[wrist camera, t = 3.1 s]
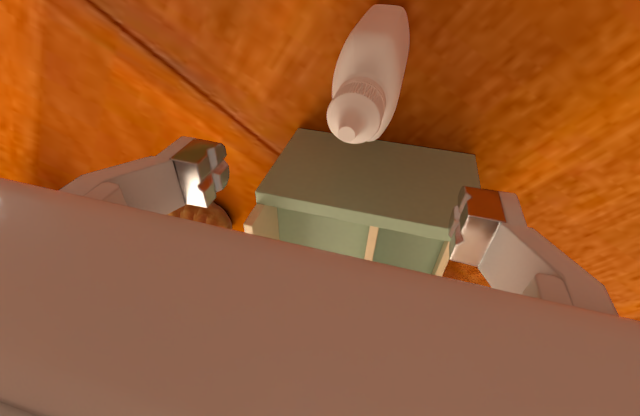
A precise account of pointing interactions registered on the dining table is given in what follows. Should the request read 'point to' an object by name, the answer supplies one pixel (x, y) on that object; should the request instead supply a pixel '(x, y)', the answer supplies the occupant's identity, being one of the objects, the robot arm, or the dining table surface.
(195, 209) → the pastry
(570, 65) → the dining table surface
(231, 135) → the dining table surface
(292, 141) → the spice rack
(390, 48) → the eye dropper bottle
